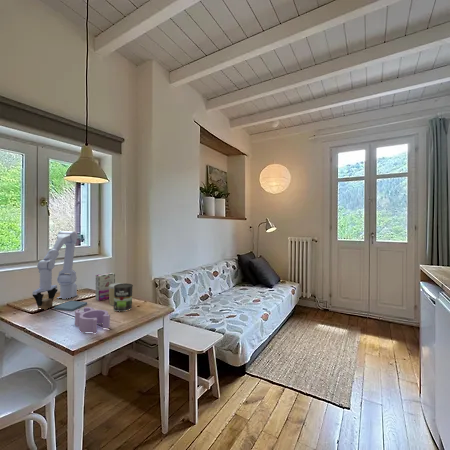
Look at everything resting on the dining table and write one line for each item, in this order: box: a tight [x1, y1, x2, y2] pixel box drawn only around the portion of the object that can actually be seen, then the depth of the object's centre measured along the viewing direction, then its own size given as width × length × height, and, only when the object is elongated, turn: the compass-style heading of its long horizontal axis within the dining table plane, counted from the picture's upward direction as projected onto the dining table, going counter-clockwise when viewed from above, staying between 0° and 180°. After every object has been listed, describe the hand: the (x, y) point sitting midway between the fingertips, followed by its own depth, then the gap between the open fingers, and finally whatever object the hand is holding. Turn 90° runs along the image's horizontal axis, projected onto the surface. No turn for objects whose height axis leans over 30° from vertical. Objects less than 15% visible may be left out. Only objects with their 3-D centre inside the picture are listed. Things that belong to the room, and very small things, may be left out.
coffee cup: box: [108, 282, 124, 307], centre depth 160 cm, size 9×9×12 cm
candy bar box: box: [95, 272, 116, 302], centre depth 169 cm, size 11×5×16 cm, turn 143°
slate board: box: [53, 300, 88, 312], centre depth 152 cm, size 12×12×1 cm
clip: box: [74, 306, 111, 334], centre depth 126 cm, size 20×12×7 cm, turn 56°
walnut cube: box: [37, 297, 54, 311], centre depth 148 cm, size 5×5×5 cm
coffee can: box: [113, 282, 134, 313], centre depth 151 cm, size 10×10×14 cm
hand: (45, 303), depth 148 cm, fingers open, 7 cm apart
